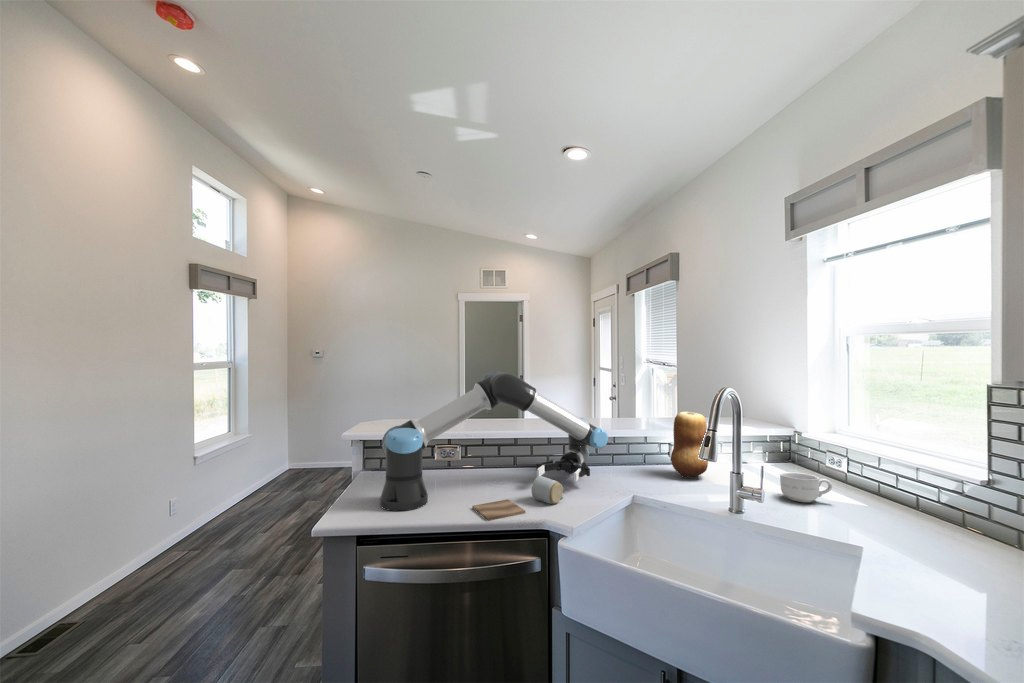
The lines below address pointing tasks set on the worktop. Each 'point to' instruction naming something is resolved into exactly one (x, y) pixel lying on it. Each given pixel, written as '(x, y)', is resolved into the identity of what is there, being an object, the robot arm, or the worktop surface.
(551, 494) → the ceramic mug
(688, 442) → the butternut squash
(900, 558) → the worktop surface
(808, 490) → the teacup
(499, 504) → the walnut trivet
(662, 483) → the worktop surface
